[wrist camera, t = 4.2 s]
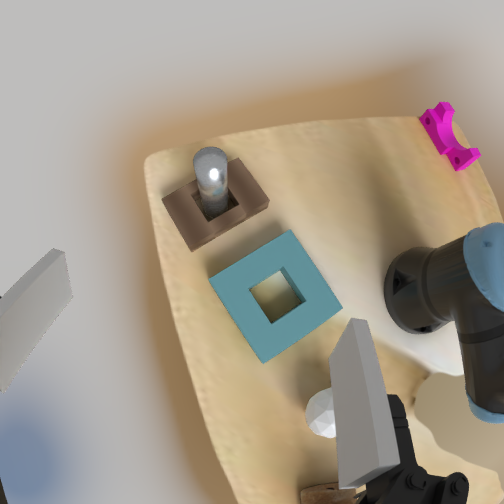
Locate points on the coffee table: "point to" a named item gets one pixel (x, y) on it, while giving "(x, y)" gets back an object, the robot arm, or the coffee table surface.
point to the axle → (212, 180)
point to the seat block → (300, 279)
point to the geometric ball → (321, 414)
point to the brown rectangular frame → (201, 232)
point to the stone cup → (328, 495)
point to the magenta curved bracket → (447, 136)
